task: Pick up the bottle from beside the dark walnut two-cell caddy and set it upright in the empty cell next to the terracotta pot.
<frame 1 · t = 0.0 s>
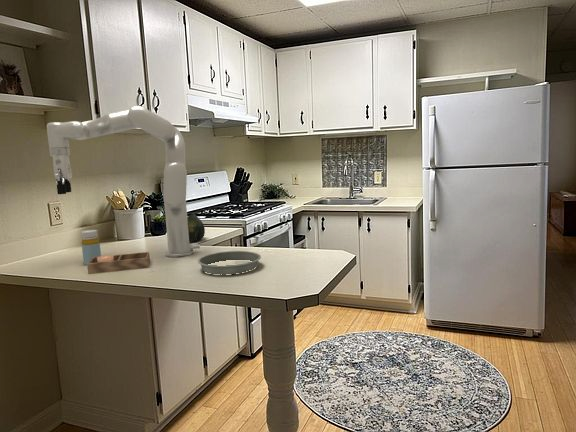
hand: (64, 193, 188), 31 cm above the counter, tool pointing down, fingers open, 9 cm apart
bottle: (93, 266, 189), on the counter
squash: (191, 241, 233), on the counter
caddy: (120, 269, 180), on the counter
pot: (106, 268, 178), point 1 cm above the counter, touching caddy
cake pan: (230, 269, 174), on the counter
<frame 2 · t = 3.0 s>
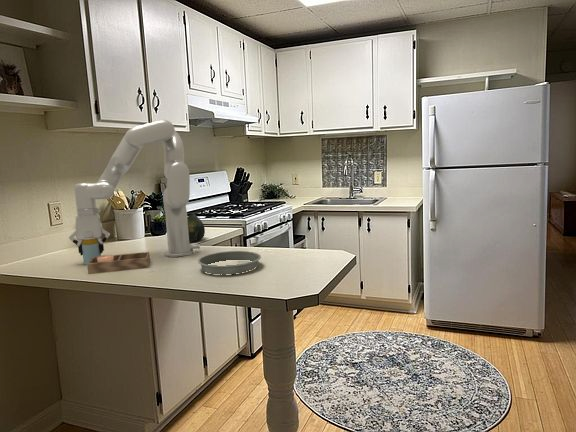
hand: (91, 253, 188), 5 cm above the counter, tool pointing down, fingers closed on bottle, 7 cm apart
bottle: (93, 266, 189), on the counter, touching gripper
everything else where it was.
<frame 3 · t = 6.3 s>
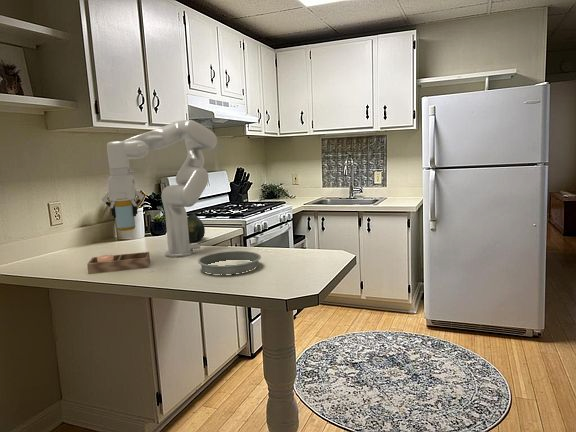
hand: (125, 216, 179), 21 cm above the counter, tool pointing down, fingers closed on bottle, 7 cm apart
bottle: (126, 229, 180), point 16 cm above the counter, touching gripper
everything else where it was.
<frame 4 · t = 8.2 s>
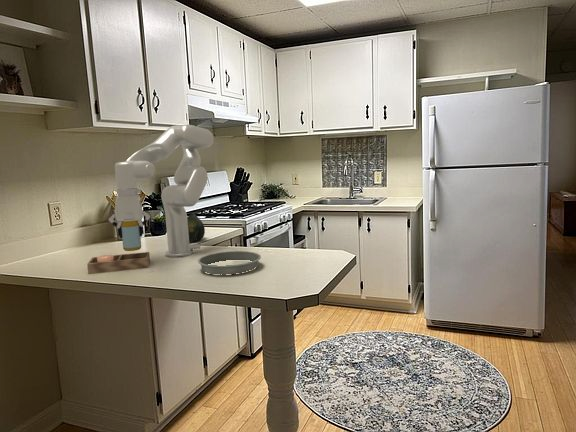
hand: (131, 236, 179), 13 cm above the counter, tool pointing down, fingers closed on bottle, 7 cm apart
bottle: (132, 249, 180), point 8 cm above the counter, touching gripper
everything else where it was.
when the fingers open (8 cm above the counter, at t = 9.8 s): bottle drops 1 cm, resting on caddy.
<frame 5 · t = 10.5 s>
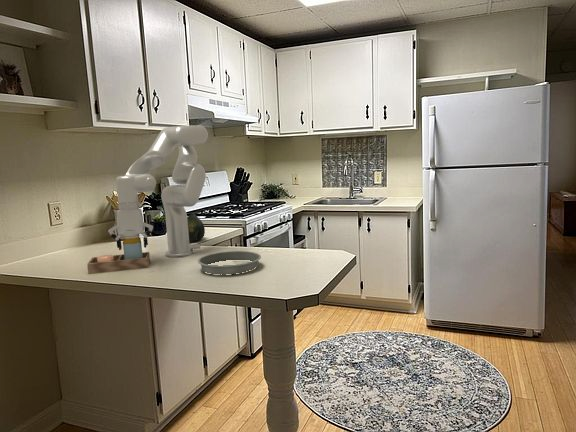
hand: (132, 248, 180), 8 cm above the counter, tool pointing down, fingers open, 9 cm apart
bottle: (134, 266, 181), point 1 cm above the counter, touching caddy
everything else where it was.
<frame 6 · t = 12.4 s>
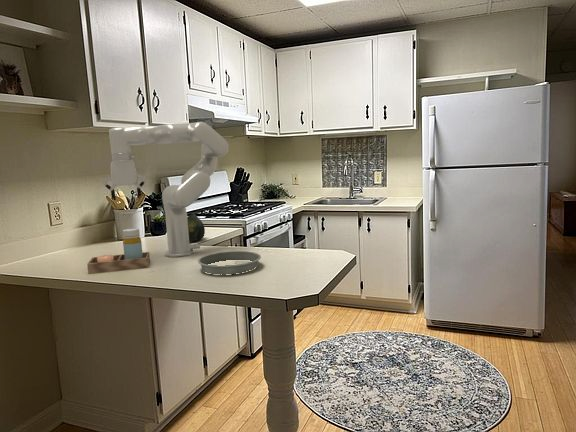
hand: (126, 198, 186), 28 cm above the counter, tool pointing down, fingers open, 9 cm apart
nothing on the counter moved.
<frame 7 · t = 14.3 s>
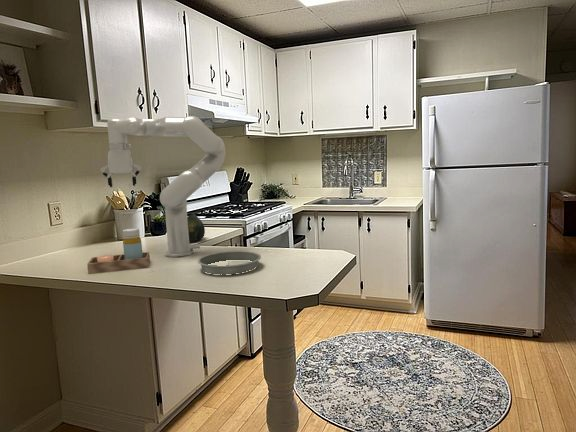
hand: (122, 186, 197), 32 cm above the counter, tool pointing down, fingers open, 9 cm apart
nothing on the counter moved.
at the end: bottle 0.1 cm from the target spot on the caddy, point 0.8 cm above the caddy's base; bottle tilted 0°; the gripper is holding nothing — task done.
